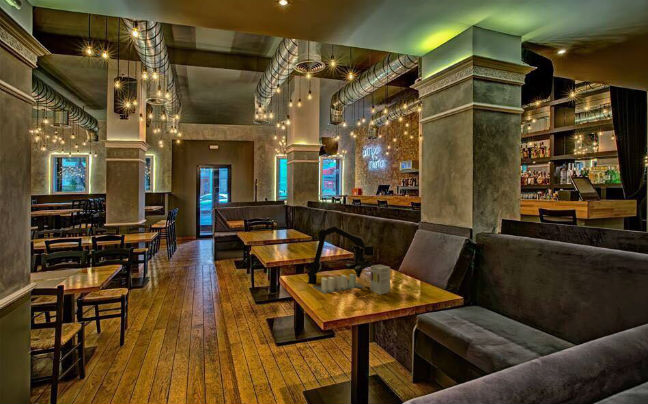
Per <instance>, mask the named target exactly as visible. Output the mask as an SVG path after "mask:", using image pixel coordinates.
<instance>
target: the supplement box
mask: <svg viewBox="0 0 648 404" xmlns="http://www.w3.org/2000/svg"><path fill="white" fill-rule="evenodd" d="M369 277H370V281H369V283H370V285H369V288H370V289H369V291H371V292H374V293H376V294H377V295H383V294H389V293H390V291H391V289H390V287H391V266H387V265H385V264H374V265H372V266H371V267H370V276H369Z"/></svg>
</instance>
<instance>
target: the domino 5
mask: <svg viewBox="0 0 648 404" xmlns="http://www.w3.org/2000/svg"><path fill="white" fill-rule="evenodd" d="M348 281H349V285H350V286H352V287H356V283H357V275H356V274H354V273H349V280H348Z"/></svg>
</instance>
